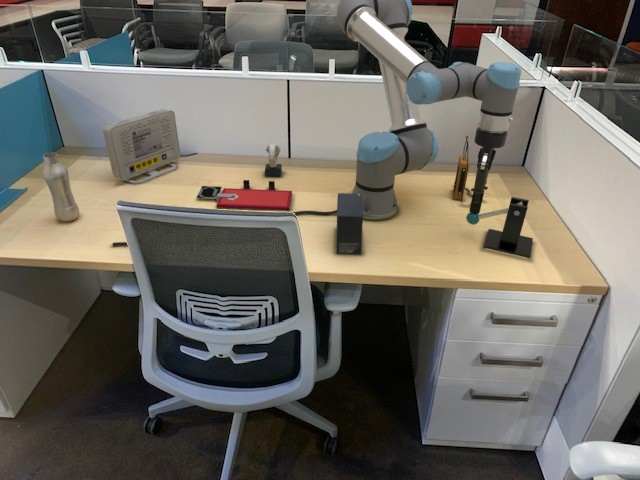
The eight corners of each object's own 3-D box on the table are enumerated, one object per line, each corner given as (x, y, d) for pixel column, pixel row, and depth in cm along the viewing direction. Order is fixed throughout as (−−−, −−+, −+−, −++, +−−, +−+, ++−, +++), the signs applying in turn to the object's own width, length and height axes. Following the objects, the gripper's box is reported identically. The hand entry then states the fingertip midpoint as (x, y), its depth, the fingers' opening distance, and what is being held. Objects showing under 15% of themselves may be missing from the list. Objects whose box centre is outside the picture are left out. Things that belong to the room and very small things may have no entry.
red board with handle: (203, 185, 161) (192, 207, 148) (203, 178, 159) (191, 199, 147) (292, 189, 161) (289, 211, 148) (292, 181, 159) (289, 203, 147)
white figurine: (282, 169, 174) (281, 140, 168) (280, 179, 167) (279, 149, 161) (266, 169, 174) (265, 140, 168) (264, 178, 167) (263, 149, 161)
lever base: (482, 250, 131) (493, 205, 124) (487, 232, 139) (498, 190, 132) (529, 260, 127) (543, 215, 120) (531, 242, 135) (544, 199, 128)
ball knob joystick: (467, 228, 133) (463, 216, 132) (469, 222, 136) (465, 211, 135) (524, 216, 125) (520, 203, 124) (525, 210, 128) (521, 198, 127)
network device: (171, 159, 181) (162, 106, 170) (186, 164, 176) (179, 111, 166) (111, 181, 163) (97, 124, 152) (126, 188, 159) (114, 130, 148)
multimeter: (486, 208, 151) (500, 149, 141) (454, 205, 153) (465, 146, 142) (482, 189, 164) (494, 132, 153) (452, 186, 165) (462, 130, 155)
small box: (335, 229, 139) (337, 192, 133) (359, 229, 139) (362, 192, 133) (335, 254, 128) (337, 215, 122) (361, 255, 128) (364, 216, 122)
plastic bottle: (57, 226, 138) (37, 161, 127) (56, 215, 143) (36, 152, 132) (82, 221, 140) (63, 157, 130) (80, 211, 145) (62, 149, 135)
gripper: (505, 139, 113) (485, 225, 126) (510, 123, 123) (491, 204, 136) (472, 134, 116) (456, 219, 128) (480, 119, 126) (464, 199, 138)
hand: (474, 211), depth 132 cm, fingers closed
